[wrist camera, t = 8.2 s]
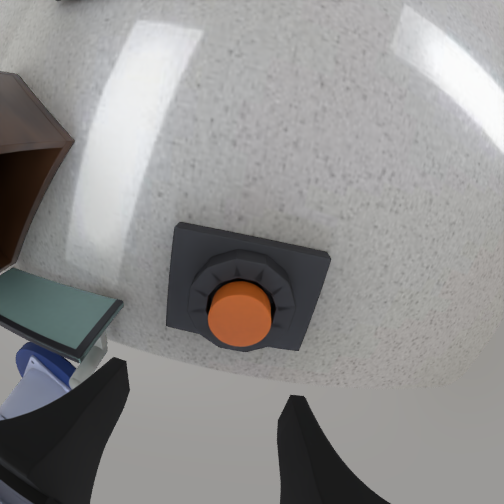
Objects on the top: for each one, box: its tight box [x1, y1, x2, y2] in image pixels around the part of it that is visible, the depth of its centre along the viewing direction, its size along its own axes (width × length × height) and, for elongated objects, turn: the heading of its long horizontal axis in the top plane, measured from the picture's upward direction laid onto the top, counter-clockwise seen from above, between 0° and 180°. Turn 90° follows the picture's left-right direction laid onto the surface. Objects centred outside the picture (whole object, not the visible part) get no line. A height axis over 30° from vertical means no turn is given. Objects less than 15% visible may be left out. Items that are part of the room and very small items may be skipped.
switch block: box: [166, 222, 331, 352], centre depth 18 cm, size 10×8×3 cm
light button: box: [208, 281, 271, 347], centre depth 16 cm, size 4×4×2 cm
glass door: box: [0, 268, 124, 389], centre depth 16 cm, size 5×13×7 cm, turn 80°
